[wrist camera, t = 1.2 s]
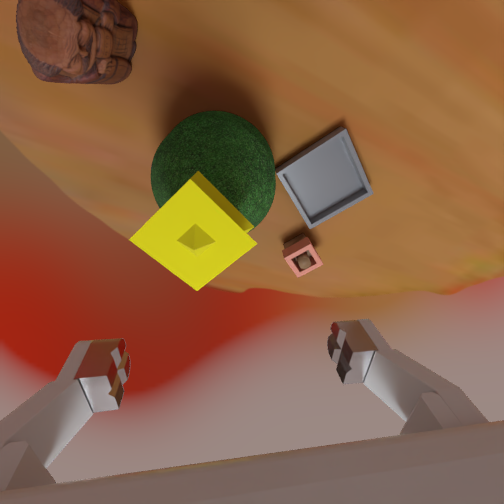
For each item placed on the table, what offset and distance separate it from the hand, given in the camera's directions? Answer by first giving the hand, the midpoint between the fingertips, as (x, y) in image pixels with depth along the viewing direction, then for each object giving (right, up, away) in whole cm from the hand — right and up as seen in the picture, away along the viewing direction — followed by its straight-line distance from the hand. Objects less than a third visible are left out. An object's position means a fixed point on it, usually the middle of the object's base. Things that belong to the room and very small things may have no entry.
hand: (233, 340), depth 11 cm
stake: (+11, +5, +50) cm, 51 cm away
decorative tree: (-5, +20, +40) cm, 45 cm away
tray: (+14, +18, +42) cm, 48 cm away
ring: (+11, +3, +48) cm, 49 cm away
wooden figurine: (-20, +35, +31) cm, 50 cm away
